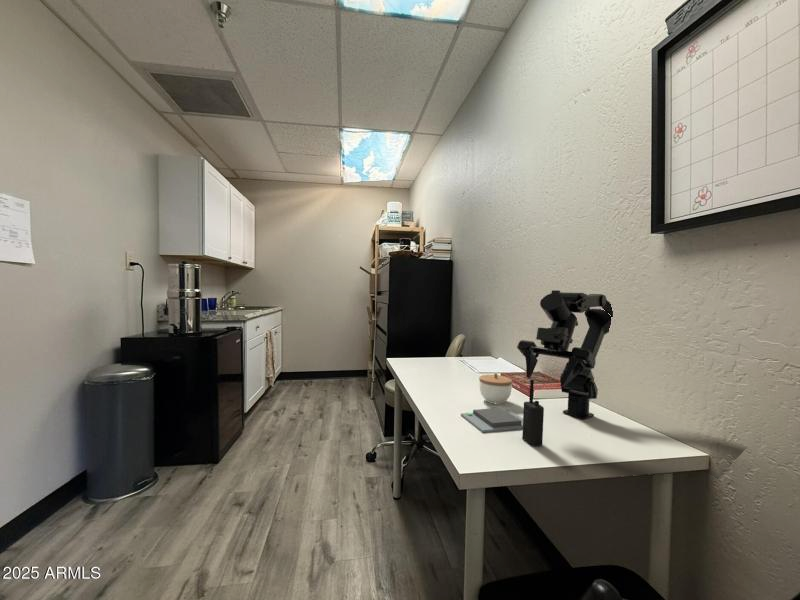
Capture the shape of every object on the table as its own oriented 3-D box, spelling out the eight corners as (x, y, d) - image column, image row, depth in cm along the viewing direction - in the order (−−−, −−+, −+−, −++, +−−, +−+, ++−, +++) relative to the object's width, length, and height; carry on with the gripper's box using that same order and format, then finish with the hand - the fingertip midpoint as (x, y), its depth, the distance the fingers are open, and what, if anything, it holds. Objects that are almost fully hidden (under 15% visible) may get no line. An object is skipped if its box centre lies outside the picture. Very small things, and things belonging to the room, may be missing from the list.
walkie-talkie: (543, 446, 77) (546, 383, 76) (530, 446, 76) (533, 383, 76) (532, 437, 81) (534, 378, 81) (519, 437, 81) (522, 378, 81)
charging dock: (507, 411, 99) (508, 405, 99) (534, 427, 88) (534, 421, 88) (460, 415, 95) (460, 409, 95) (482, 432, 83) (482, 425, 83)
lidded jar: (513, 408, 103) (514, 378, 102) (478, 404, 105) (480, 376, 105) (509, 398, 113) (510, 371, 113) (477, 395, 115) (478, 368, 115)
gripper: (518, 312, 92) (499, 360, 87) (590, 317, 78) (572, 375, 73) (533, 333, 98) (516, 379, 93) (602, 340, 84) (587, 396, 79)
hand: (544, 381), depth 84 cm, fingers open, 9 cm apart
